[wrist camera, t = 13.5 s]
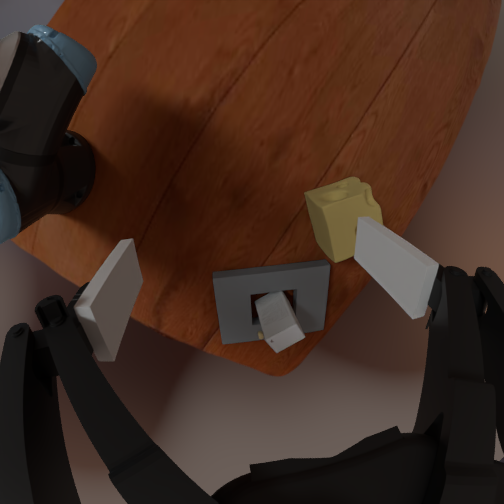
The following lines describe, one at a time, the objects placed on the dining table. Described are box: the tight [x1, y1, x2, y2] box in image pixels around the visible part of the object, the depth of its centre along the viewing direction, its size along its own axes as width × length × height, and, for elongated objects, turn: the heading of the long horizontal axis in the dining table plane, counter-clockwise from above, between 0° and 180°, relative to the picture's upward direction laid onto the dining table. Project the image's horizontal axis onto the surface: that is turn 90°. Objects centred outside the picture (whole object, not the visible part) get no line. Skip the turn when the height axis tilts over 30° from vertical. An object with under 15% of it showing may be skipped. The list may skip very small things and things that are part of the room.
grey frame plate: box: [213, 259, 330, 344], centre depth 54 cm, size 22×16×4 cm
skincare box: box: [255, 291, 305, 353], centre depth 50 cm, size 6×4×12 cm
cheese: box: [304, 177, 383, 263], centre depth 45 cm, size 10×11×10 cm
